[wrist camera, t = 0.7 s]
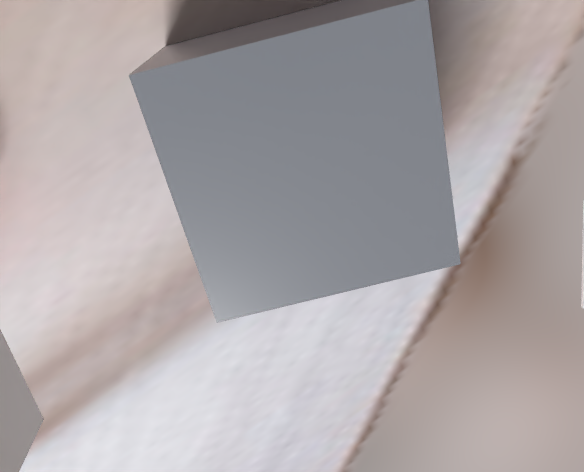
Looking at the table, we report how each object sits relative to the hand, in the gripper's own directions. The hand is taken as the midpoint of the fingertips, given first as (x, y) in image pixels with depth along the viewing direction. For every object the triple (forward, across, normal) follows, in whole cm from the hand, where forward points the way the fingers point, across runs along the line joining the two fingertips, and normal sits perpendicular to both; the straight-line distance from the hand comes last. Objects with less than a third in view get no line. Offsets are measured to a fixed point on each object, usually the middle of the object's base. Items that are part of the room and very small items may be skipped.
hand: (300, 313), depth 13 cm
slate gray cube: (+18, +1, 0) cm, 18 cm away
